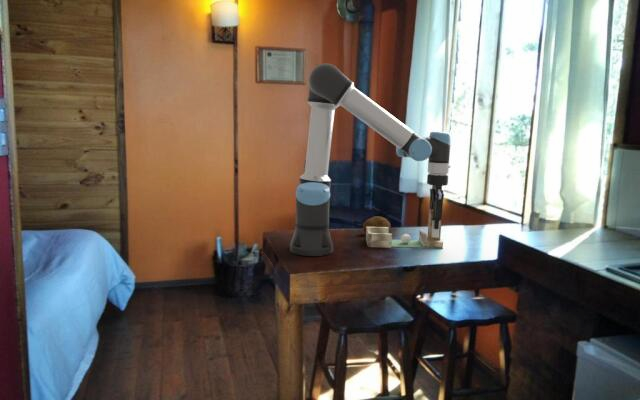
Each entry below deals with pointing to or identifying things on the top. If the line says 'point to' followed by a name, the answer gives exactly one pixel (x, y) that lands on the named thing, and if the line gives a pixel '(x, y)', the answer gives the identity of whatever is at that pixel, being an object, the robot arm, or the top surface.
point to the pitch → (410, 244)
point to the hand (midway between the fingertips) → (433, 235)
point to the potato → (376, 222)
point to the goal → (378, 237)
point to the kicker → (427, 239)
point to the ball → (405, 238)
